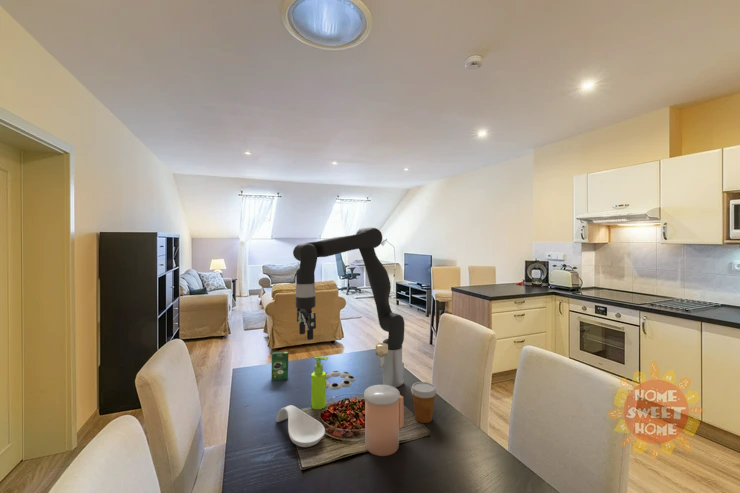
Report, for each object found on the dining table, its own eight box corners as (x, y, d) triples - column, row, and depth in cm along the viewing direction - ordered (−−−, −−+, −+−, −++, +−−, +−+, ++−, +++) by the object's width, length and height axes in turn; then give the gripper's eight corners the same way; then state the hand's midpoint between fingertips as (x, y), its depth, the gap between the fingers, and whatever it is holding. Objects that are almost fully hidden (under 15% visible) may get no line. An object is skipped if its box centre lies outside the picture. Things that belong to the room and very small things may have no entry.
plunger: (383, 364, 105) (383, 342, 105) (390, 368, 102) (390, 345, 102) (373, 366, 103) (373, 344, 103) (380, 370, 100) (380, 347, 100)
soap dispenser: (325, 410, 124) (325, 360, 124) (309, 408, 125) (308, 359, 125) (330, 403, 130) (330, 355, 130) (314, 401, 131) (314, 353, 131)
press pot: (391, 427, 112) (391, 380, 112) (412, 445, 102) (412, 393, 102) (357, 441, 105) (357, 390, 104) (377, 461, 95) (377, 405, 95)
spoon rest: (331, 442, 105) (331, 420, 105) (301, 458, 97) (301, 435, 97) (294, 414, 122) (294, 396, 122) (266, 426, 114) (266, 407, 114)
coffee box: (288, 377, 155) (288, 350, 155) (288, 379, 152) (288, 352, 152) (271, 378, 153) (271, 352, 153) (271, 381, 151) (271, 354, 151)
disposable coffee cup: (437, 414, 121) (437, 383, 121) (434, 427, 112) (434, 394, 112) (413, 409, 124) (413, 379, 124) (408, 422, 115) (408, 390, 115)
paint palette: (306, 382, 150) (306, 378, 150) (336, 369, 165) (336, 365, 165) (334, 395, 138) (334, 390, 138) (363, 380, 153) (363, 376, 152)
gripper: (322, 296, 117) (322, 339, 118) (308, 291, 129) (308, 330, 130) (302, 298, 113) (303, 343, 114) (290, 293, 125) (290, 333, 126)
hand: (306, 336), depth 122 cm, fingers open, 8 cm apart
